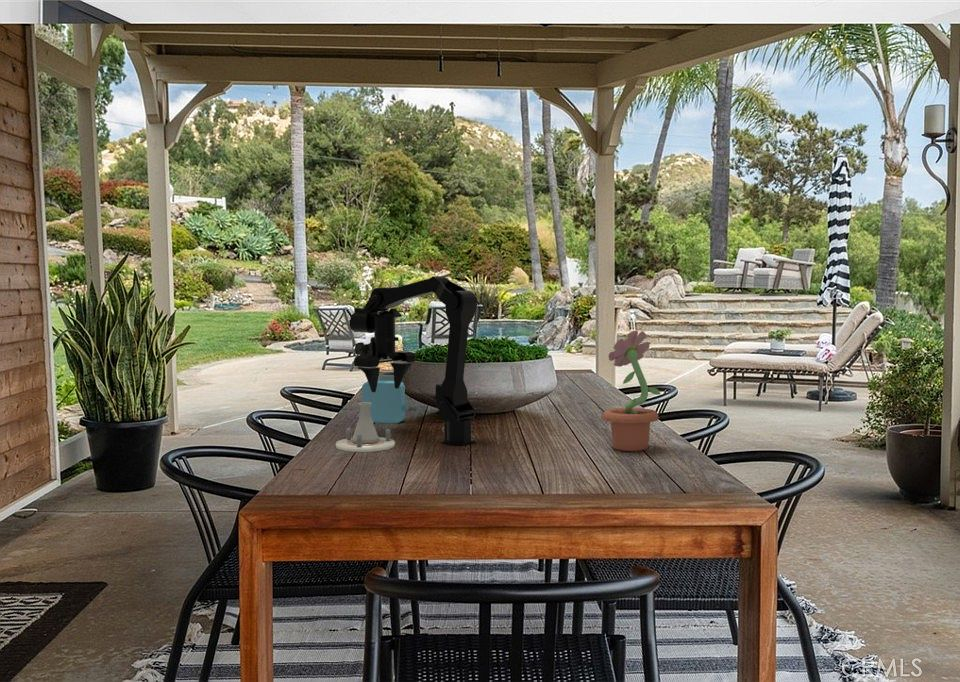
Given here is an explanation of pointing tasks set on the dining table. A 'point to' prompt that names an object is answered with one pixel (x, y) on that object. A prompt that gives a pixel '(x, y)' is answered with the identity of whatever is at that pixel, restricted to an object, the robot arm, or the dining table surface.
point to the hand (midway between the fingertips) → (385, 390)
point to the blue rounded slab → (385, 402)
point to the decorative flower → (629, 421)
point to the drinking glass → (390, 377)
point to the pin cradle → (368, 447)
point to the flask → (365, 425)
